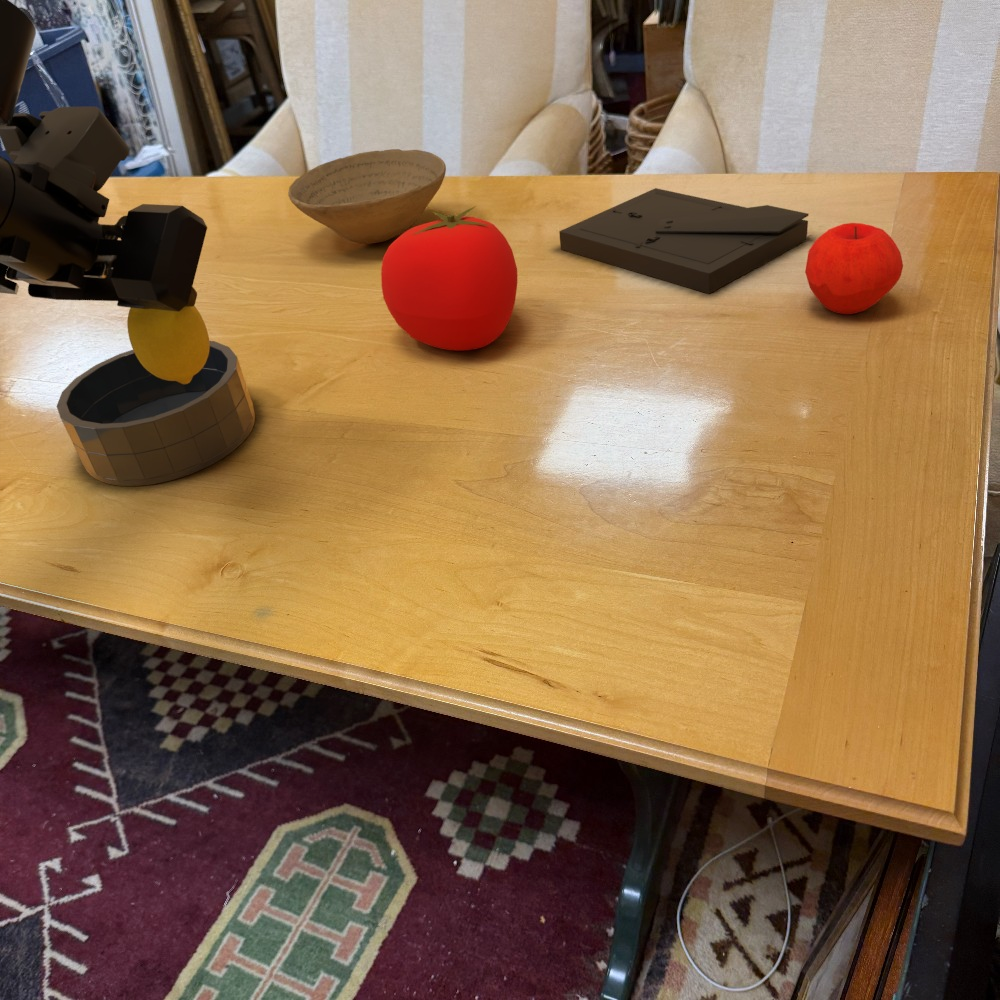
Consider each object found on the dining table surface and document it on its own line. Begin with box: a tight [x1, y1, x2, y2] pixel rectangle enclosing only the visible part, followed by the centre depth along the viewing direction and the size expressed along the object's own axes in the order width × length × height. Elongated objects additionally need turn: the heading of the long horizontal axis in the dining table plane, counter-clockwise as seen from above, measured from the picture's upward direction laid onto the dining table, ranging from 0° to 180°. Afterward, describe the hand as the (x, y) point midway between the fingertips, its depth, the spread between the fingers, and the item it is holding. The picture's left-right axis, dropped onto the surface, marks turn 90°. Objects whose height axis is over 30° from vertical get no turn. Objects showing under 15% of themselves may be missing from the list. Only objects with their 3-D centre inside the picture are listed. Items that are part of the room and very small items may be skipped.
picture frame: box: [558, 187, 810, 295], centre depth 97 cm, size 16×3×21 cm
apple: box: [804, 222, 904, 315], centre depth 80 cm, size 8×8×7 cm
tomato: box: [380, 205, 518, 352], centre depth 83 cm, size 12×14×11 cm
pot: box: [56, 340, 256, 487], centre depth 77 cm, size 15×15×6 cm
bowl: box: [287, 148, 447, 245], centre depth 109 cm, size 18×18×8 cm
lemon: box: [126, 304, 210, 384], centre depth 68 cm, size 6×6×8 cm
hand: (170, 297), depth 68 cm, fingers closed on lemon, 4 cm apart
